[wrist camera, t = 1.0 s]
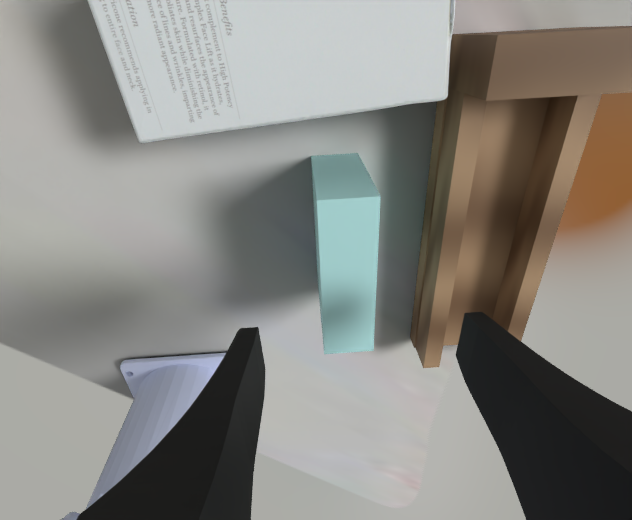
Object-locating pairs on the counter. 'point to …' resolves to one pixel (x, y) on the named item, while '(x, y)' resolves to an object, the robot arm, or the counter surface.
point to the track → (506, 170)
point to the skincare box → (270, 59)
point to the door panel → (346, 251)
